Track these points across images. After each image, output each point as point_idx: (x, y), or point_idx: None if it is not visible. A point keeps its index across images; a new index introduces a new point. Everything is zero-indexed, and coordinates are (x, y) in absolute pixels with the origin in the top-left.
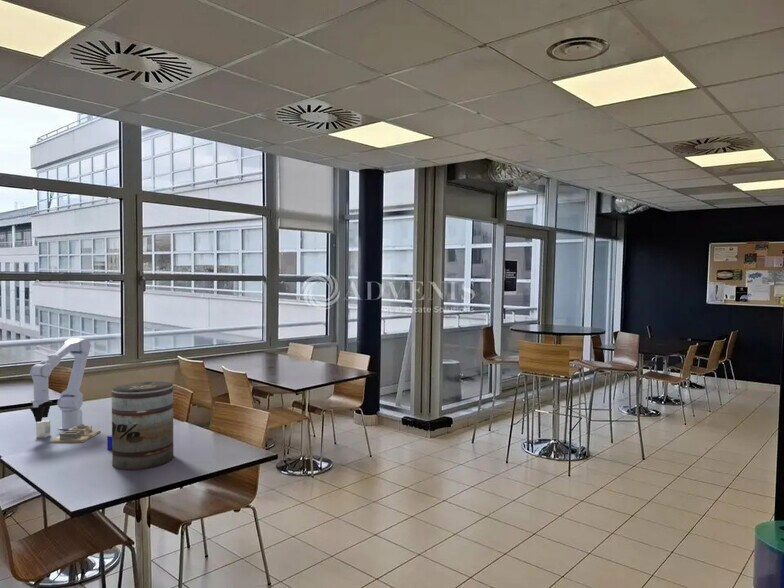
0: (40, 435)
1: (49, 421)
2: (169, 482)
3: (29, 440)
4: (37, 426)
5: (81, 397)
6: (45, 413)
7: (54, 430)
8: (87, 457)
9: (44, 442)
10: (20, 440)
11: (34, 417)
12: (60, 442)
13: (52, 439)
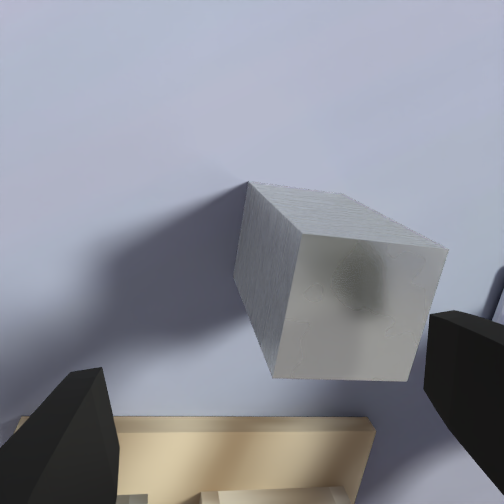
0: (245, 235)
1: (381, 375)
2: None
3: (137, 153)
4: (280, 234)
5: None
6: (480, 424)
7: (500, 238)
8: None
9: (38, 357)
10: (150, 29)
11: (13, 435)
12: None
13: None
